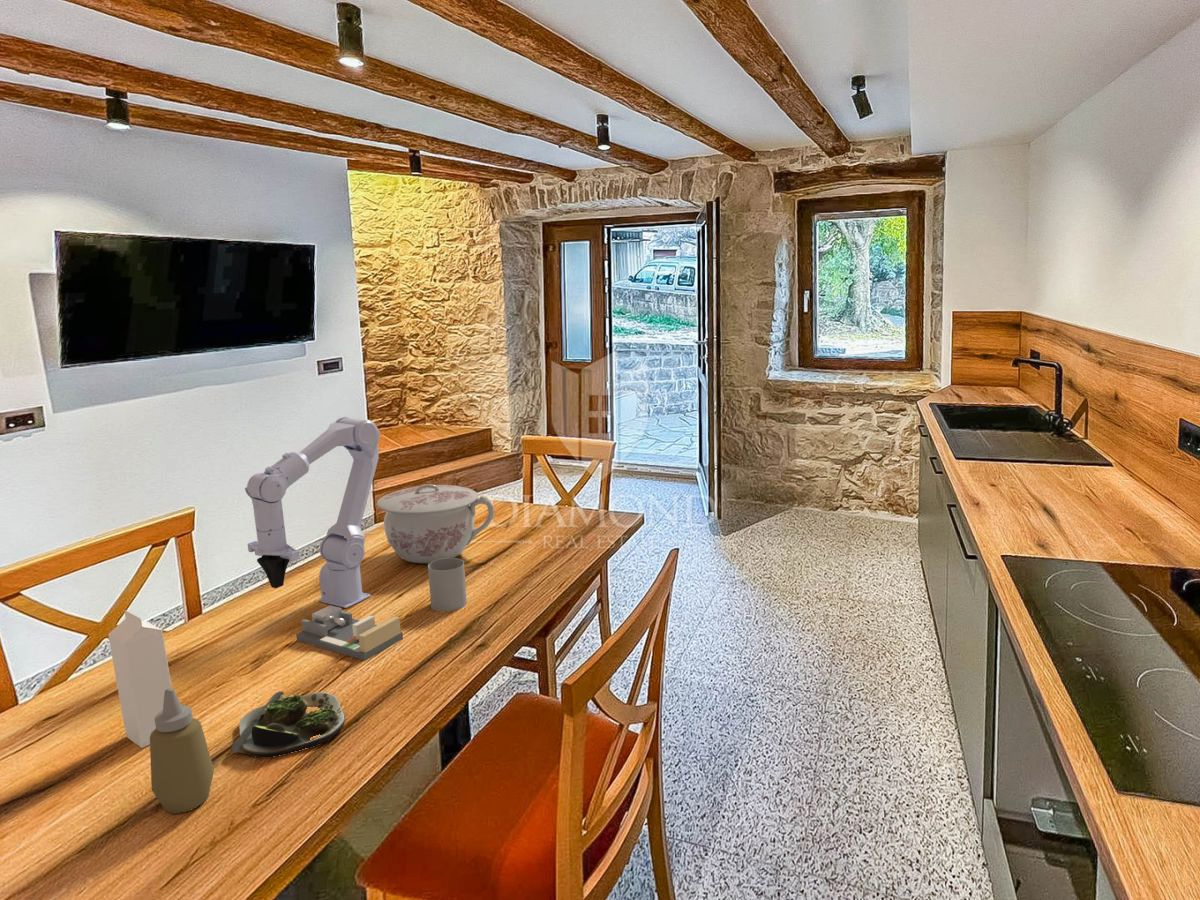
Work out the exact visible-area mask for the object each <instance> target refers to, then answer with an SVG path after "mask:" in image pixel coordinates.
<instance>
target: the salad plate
mask: <svg viewBox="0 0 1200 900" xmlns="http://www.w3.org/2000/svg"><path fill="white" fill-rule="evenodd" d="M307 707H311V708H313V707H318V708H317V709H315V710H312V711H309V713H307V710H308V709H307ZM319 708H320V709H319ZM323 708H324V709H323ZM345 721H346V717H345V714H344V712H343V710H342V707H341V704H340V702H339V700H338V699H337V697H336V696H335V695H334V694H332V693H328V692H313V693H308V694H304V695H301V696H300V695H299V694H294V695H290V696H285V693H284V691H277V692H275V693H274V694H273V695H272V696H271V698H269V700H268V701H267V702H266V704H264V705H261V706H258V707H256V708H254V709H252V710H251V711H249V712H247V713H246V714H245V715H243V716H242V718H241V719H240V720H239V724H238V725H239V727H238V728H239V738H237V739H236V740H235V741H234V743H233V744H232V746H231V747H230V748H231V749H230V751H231V752H232V753H233V754H235V753H243V754H247V755H249V756H252V757H254V756H256V757H255V758H260V757H271V758H274V757H273V756H277V757H280V756H279V755H282V756H284V755H283V754H287V755H289V754H288V753H291V752H295V751H298V752H300V751H299V750H302V749H305V748H310V747H313V746H316V745H318V744H321V743H323V744H324V742H325V743H326V741H327V742H329V741H330V740H332V739H333V738H335V735H336V734H337V733H338V734H339V732H340V731H341V730H342V729H343V727H344V725H345ZM319 734H320V735H321V736H319V737H317V738H315V739H312V740H310V738H311V737H313V736H316V735H319ZM338 734H337V735H338ZM337 735H336V736H337ZM332 737H333V738H332ZM331 738H332V739H331ZM329 739H330V740H329ZM328 740H329V741H328ZM321 745H322V744H321ZM318 746H319V745H318ZM316 747H317V746H316ZM313 748H314V747H313ZM310 749H311V748H310ZM302 751H303V750H302ZM295 753H296V752H295ZM291 754H292V753H291Z"/></svg>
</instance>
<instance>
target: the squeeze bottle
mask: <svg viewBox="0 0 1200 900" xmlns="http://www.w3.org/2000/svg"><path fill="white" fill-rule="evenodd" d="M155 726H156V729H155V730H154V731H153V732H152V733H151V735H150V745H149V749H150V752H149V753H150V755H149V757H150V778H151V779H150V780H151V782H150V784H151V791H152V793H153V794H154V796H155V797H156V798H157V800H158V801H159V803H160V805H161V806H162V808H163V809H164V811H165V812H166V813H169V812H170V813H169V814H182V813H181V812H183V813H187V812H186V811H188V812H190V811H192V810H191V809H193V808H195V809H197V808H198V807H197V806H199V805H200V804H201V805H203V804H204V803H205V802H206V801H205V800H207V799H208V798H209V795H210V790H211V786H212V783H213V782H212V781H213V778H214V772H215V769H214V765H213V762H212V758H211V754H210V750H209V747H208V743H207V740H206V737H205V732H204V729H203V726H202V723H201V721H200V720H199V719H198V718H194V717H193V712H192V707H190V706H189V705H184V704H183V705H182V704H181V701H180V699H179V697H178V695H177V693H176V691H175V689H174V688H170V689H167V690H165V693H164V703H163V710H162V711H161V712H159V713H158V714H157V715H156V716H155ZM204 801H205V802H204ZM203 802H204V803H203ZM202 803H203V804H202ZM201 805H200V806H201ZM200 806H199V807H200ZM196 807H197V808H196ZM189 810H190V811H189ZM193 810H194V809H193Z"/></svg>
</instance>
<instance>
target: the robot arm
mask: <svg viewBox="0 0 1200 900" xmlns="http://www.w3.org/2000/svg"><path fill="white" fill-rule="evenodd" d="M380 437H381V432H380V430H379V428H378V427H377V424H376V423H374V422H373V421H372V420H369V419H359V418H350V417H347V416H343V417H340V418H338V419H337V420H336V421H334V422H333V423H330V424H329V426H328V427H327V429H326V430H325V431H324V432H323V433H321V434H320V435H318V436H317V438H315V439H314V440H312V442H310V443H309V444H308V445H306V447H304V448H303V449H302V450H301V451H299V452H297V451H291V452H285V453H284V454H282V455H281V456H282V458H281V459H279V460H278V461H276V462H275V463H274V464H273V465H271V466H267V467H265V469H264V472H258V473H255V474H253V475H252V476H250V478H249V479H248V481H247V485H246V486H245V488H244V491H245V493H246V495H247V496H248V497H249V499H251V503H252V507H253V508H252V509H253V516H254V524H255V531H256V540H257V541H256V540H255V541H252V542H248V543H247V549H248V550H247V551H248V553H254V555H255V556H258V558H257V559H256V562H257V563H258V564H259V565H260V566H261V568H262V569H263V571H264V573H265V576H266V577H267V580H268V582H269V585H270V587H271V589H278V588H280V587H283V586H284V584H285V583H284V582H285V578H286V576H285V575H286V571H287V567H288V564H289V563H290V562H292V563H293V562H295V561H298V560H300V559H301V556H300V550H299V549H295V548H294V547H293V546H290V544H288V543H287V536H286V526H285V519H284V510H283V503H282V502H283V501H282V499H283V498H284V496H285V495H286V492H287V489H288V488H289V487H290V486H292V485H293V484H294V483H296V482H297V481H298V480H299V479H301V478H303V476H305V475H306V474H307V473H309V470H310V466H311V464H313V463H314V462H315V461H317V460H319V459H321V458H322V457H323V456H324V455H326V454H327V453H330V452H331V451H332V450H334V449H335V448H336V447H344V448H345V449H346V450H347V451H348V453H349V454H350V455H351V457H352V459H353V460H352V465H351V469H350V472H349V475H348V476H349V477H348V479H347V484H346V487H345V490H344V495H343V497H342V502H341V505H340V509H339V513H338V516H337V519H336V523H334V524H333V525H331V527H329V528H328V530H327V533H326V535H325V536H324V538H323V540H322V541H321V542H320V545H319V554H320V556H321V558H322V559H324V560H325V563H324V564H323V565H322V566H321V568H320V571H319V577H318V578H319V587H320V595H321V598H318V601H319V602H321V603H325V604H328V605H331V606H335V607H339V608H345V609H347V608H349V607H351V606H353V605H356V604H358V603H360V602H362V601H364V600H367V599H368V598H370V597H371V594H370V593H366V592H363V586H362V576H361V563H362V561H363V559H364V557H365V555H366V554H365V551H366V550H365V541H366V536H365V535H364V534H365V533H363V531H362V530H361V525H362V521H363V518H364V514H365V509H366V507H367V502H368V499H369V495H370V492H371V489H372V484H373V480H374V476H375V473H376V469H377V465H378V462H379V458H380V456H379V453H380V452H379V441H380Z"/></svg>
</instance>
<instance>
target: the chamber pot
mask: <svg viewBox="0 0 1200 900" xmlns="http://www.w3.org/2000/svg"><path fill="white" fill-rule="evenodd" d="M479 505H485V506H486V507H487V512H488V515H487V518H486V519H485V520H484V522H483V523H482V524H481V525H479V526H477V527H475V516H476V514H477V513H476V512H477V511H476V507H477V506H479ZM376 507H377V508H378V509H380V510H381V511H383V512H385V515H384V517H383V528H384V532H385V536H386V539H387V542H388V543H387V544H389V546H390V547H391V548H392V549H393V550H394V552H395V553H396V554H397V556H399V557H400V558H401V559H402V560H404V561H406V562H409V563H414V564H421V565H422V564H423V565H428V564H429V563H431V562H432V561H435V560H438V559H443V558H456V557H458V556H459V555H462V553H463V552H464V551H465V549H466V548H467V546H469V545H470V544H471V543H472V541H473V540H474V538H475V537H476V536H477V535H478V534H479V533H481V532H482V531H483V530H485V529H486V528H488V526H489V525H490V523H491V522H492V520H493V519H494V516H495V509H494V508H495V507H494V505H493V502H492V501H491V500H490V499H489V498H488V497H486V496H484V495H480V497H479V495H478V492H477V491H475V490H474V489H472V488H468V487H465V486H459V485H453V484H451V485H449V484H433V483H426V484H421V485H418V486H412V487H407V488H403V489H399V490H396V491H392V492H390V493H388V494H385V495H383V496H382V497H380V498H379V499H378V500H377V501H376Z"/></svg>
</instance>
